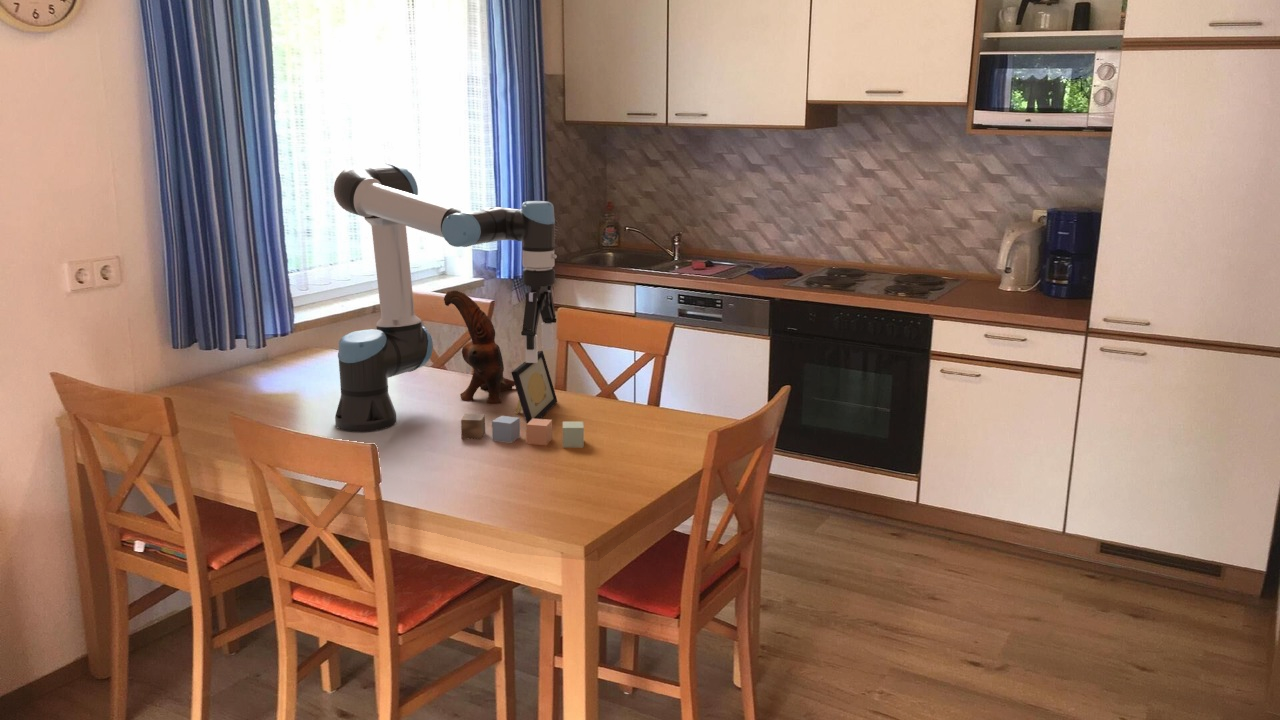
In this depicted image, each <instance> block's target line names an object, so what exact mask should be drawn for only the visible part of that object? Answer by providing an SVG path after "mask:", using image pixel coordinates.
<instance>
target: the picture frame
mask: <svg viewBox="0 0 1280 720" xmlns="http://www.w3.org/2000/svg"><path fill="white" fill-rule="evenodd" d="M510 374H511V375H512V379H513V380H512V381H514V383H515V386H514V387H515V389H516V392H517V396H518V402H517V404H516V408H515V410H514V412H515V414H516V415H519V413H520V411H521V410H522V413H523V416H524V419H525V422H526V424H527V423H528V422H529V421H530V420H531V419H532V418H534V419H543V417H544V416H545V415H546V414H547V413H548V412H549V411H550V409H552V408H553V407H554V406H555V405H556V404H557V403H558V399H557V395H556V392H555V387H554V386H553V381H552V378H551V375H550V371H549V368H548V364H547V361H546V358H545V354H544V351H543V350H538V362H537V363H526V360H525V361H524V362H522V363H521V364H520V365H518V366H517V367H516V368H515V369H514V370H512V371H511V372H510Z"/></svg>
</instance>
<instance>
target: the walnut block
mask: <svg viewBox="0 0 1280 720" xmlns="http://www.w3.org/2000/svg"><path fill="white" fill-rule="evenodd" d="M460 422H461V423H460V424H461V425H460V427H461V429H460V430H461V432H460V433H461V436H460V437H461V440H483V438H484V436H485V434H486V414H483V413H464V414H463V416H462V418H461V420H460Z"/></svg>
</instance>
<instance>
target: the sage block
mask: <svg viewBox="0 0 1280 720" xmlns="http://www.w3.org/2000/svg"><path fill="white" fill-rule="evenodd" d="M584 427H585V426H584V421H562V448H584V444H585V443H584V434H585V431H584V430H585V429H584Z"/></svg>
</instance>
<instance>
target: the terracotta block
mask: <svg viewBox="0 0 1280 720" xmlns="http://www.w3.org/2000/svg"><path fill="white" fill-rule="evenodd" d="M552 440H553V419H545V418H544V419H543V418H541V419H534V418H532V419H531V420H530V421H529V422H528V423H526V444H528V445H537V446H538V445H539V446H547V445H548V444H549V443H550V442H551V441H552Z"/></svg>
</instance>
